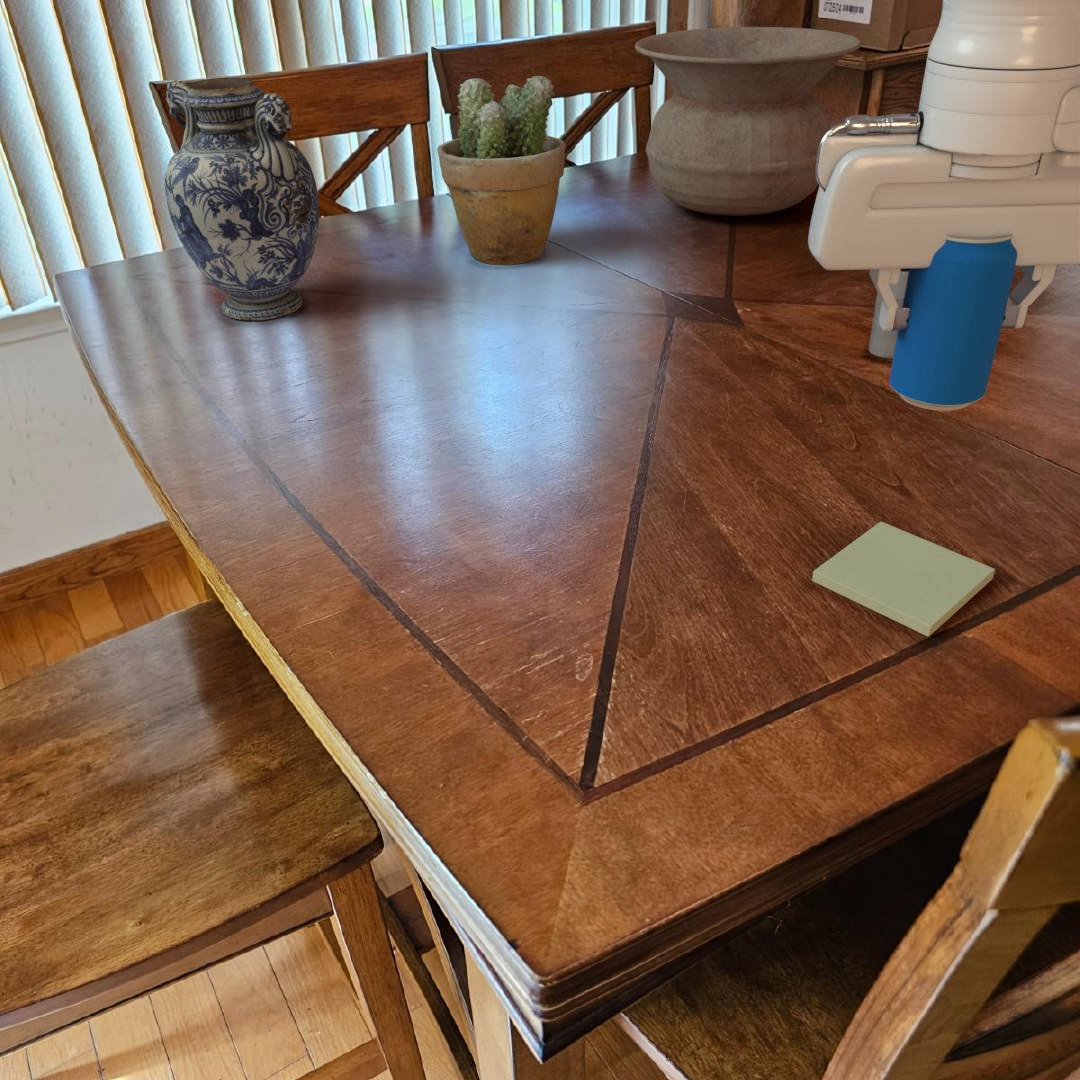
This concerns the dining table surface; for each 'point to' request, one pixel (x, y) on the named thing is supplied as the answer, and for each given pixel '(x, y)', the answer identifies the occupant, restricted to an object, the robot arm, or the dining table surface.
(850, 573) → the mat
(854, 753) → the dining table surface
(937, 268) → the beverage can
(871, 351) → the grey cup
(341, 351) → the dining table surface
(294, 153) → the decorative vase
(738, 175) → the pot
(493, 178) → the potted plant
